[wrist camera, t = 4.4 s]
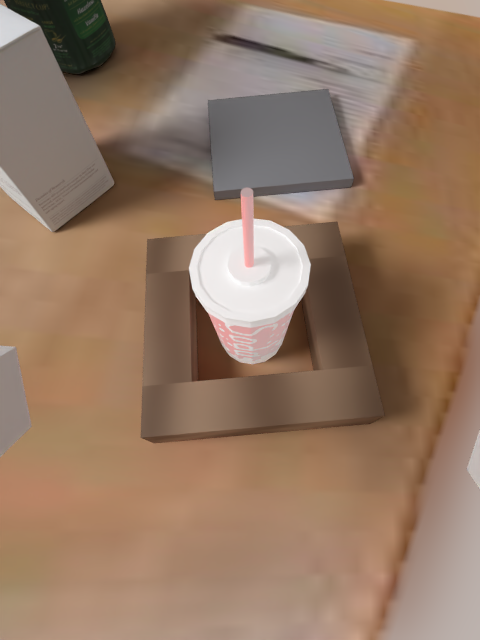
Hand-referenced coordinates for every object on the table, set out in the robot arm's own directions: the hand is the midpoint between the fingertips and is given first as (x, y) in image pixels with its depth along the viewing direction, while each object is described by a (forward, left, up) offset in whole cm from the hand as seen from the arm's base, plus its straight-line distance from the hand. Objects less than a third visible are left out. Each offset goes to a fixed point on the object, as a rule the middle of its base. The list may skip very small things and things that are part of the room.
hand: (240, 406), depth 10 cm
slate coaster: (+5, +27, -14) cm, 31 cm away
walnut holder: (+1, +8, -14) cm, 16 cm away
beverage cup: (+1, +8, -14) cm, 16 cm away
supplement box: (-15, +24, -14) cm, 32 cm away
